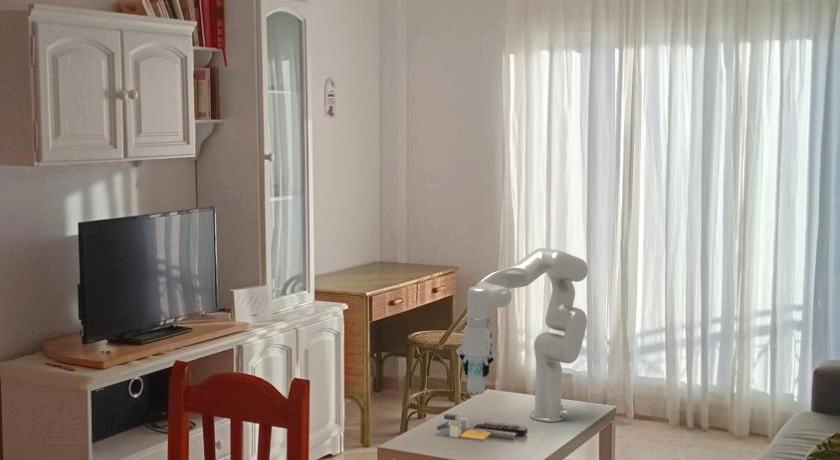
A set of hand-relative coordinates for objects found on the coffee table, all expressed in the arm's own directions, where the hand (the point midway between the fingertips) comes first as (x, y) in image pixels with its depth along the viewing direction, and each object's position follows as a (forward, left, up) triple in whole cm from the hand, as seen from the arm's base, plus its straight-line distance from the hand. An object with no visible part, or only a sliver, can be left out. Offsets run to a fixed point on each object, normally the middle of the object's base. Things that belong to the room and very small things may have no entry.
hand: (476, 374), depth 352 cm
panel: (+3, +2, -22) cm, 22 cm away
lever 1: (+9, +6, -18) cm, 21 cm away
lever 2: (+9, -2, -17) cm, 20 cm away
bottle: (0, 0, -7) cm, 7 cm away
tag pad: (-1, +2, -21) cm, 21 cm away
